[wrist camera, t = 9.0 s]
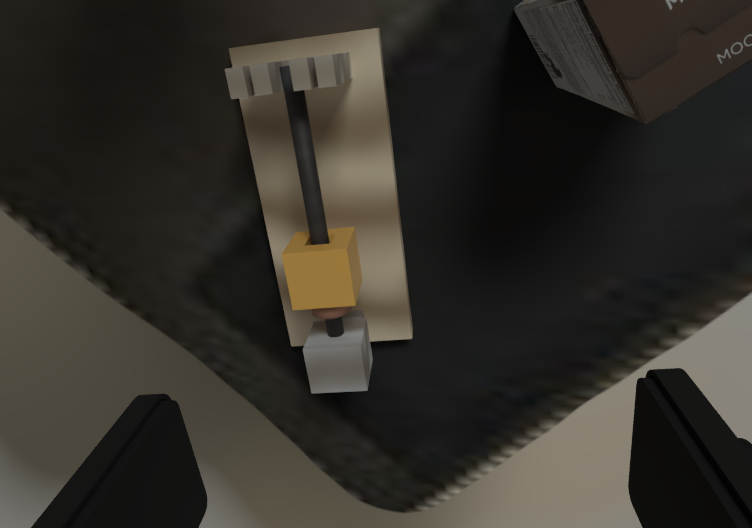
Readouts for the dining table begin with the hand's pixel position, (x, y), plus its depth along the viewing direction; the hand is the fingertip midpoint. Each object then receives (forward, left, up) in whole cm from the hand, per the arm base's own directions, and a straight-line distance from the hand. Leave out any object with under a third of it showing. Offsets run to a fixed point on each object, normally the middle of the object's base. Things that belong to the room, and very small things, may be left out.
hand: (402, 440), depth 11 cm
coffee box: (-8, +12, -30) cm, 34 cm away
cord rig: (+3, -7, -30) cm, 31 cm away
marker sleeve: (+6, -7, -26) cm, 28 cm away
